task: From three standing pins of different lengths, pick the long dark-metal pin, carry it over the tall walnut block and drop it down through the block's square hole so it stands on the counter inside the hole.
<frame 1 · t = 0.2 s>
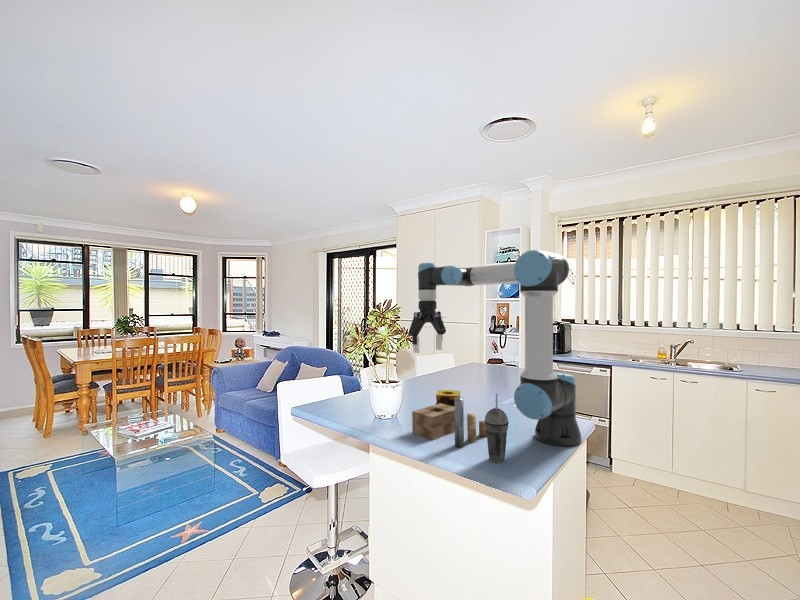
hand: (427, 351, 162), 28 cm above the table, fingers open, 13 cm apart
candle: (448, 416, 163), on the table
short pin: (483, 435, 139), on the table
medium pin: (471, 440, 134), on the table
hole block: (437, 431, 144), on the table
long pin: (459, 446, 129), on the table
beverage cup: (496, 460, 118), on the table
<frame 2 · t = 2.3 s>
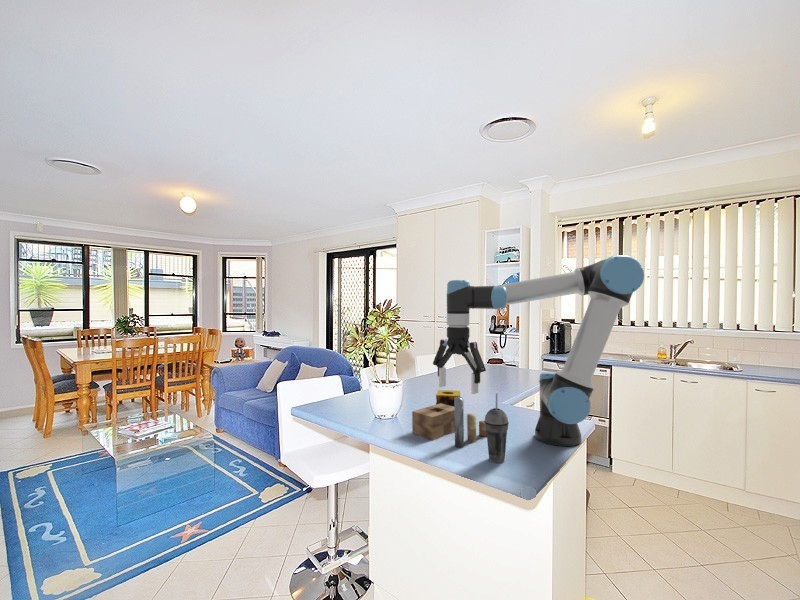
hand: (458, 389, 130), 19 cm above the table, fingers open, 13 cm apart
nothing on the table moved.
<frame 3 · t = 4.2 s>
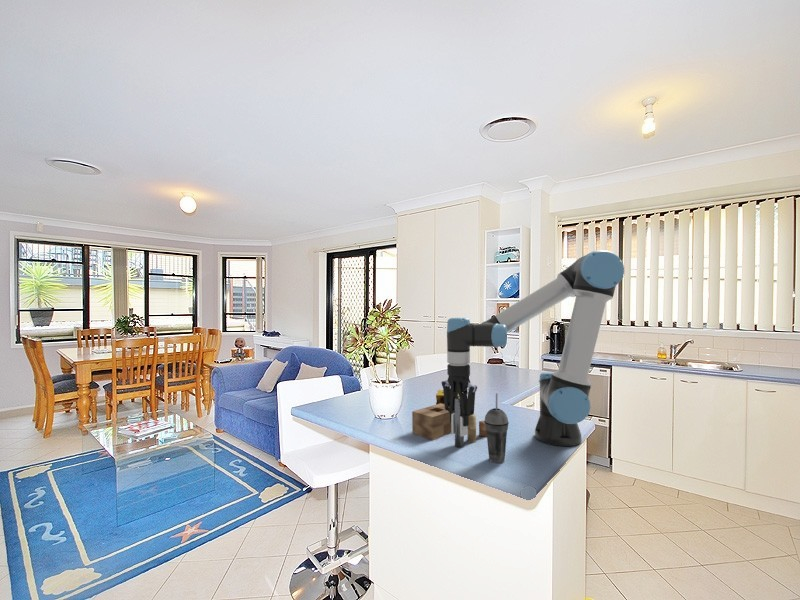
hand: (459, 433, 130), 4 cm above the table, fingers closed on long pin, 3 cm apart
long pin: (459, 446, 129), on the table, touching gripper
everything else where it was.
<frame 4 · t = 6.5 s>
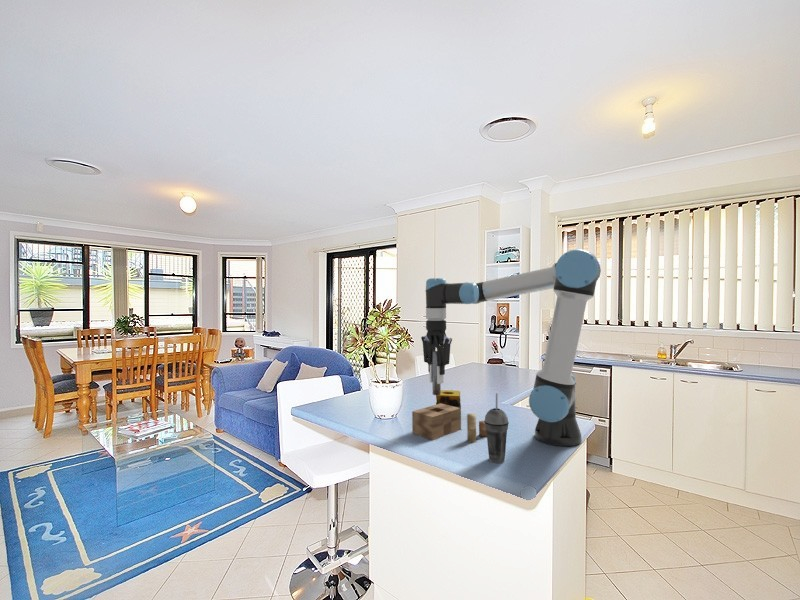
hand: (436, 382, 145), 18 cm above the table, fingers closed on long pin, 3 cm apart
long pin: (436, 394, 144), point 14 cm above the table, touching gripper
everything else where it was.
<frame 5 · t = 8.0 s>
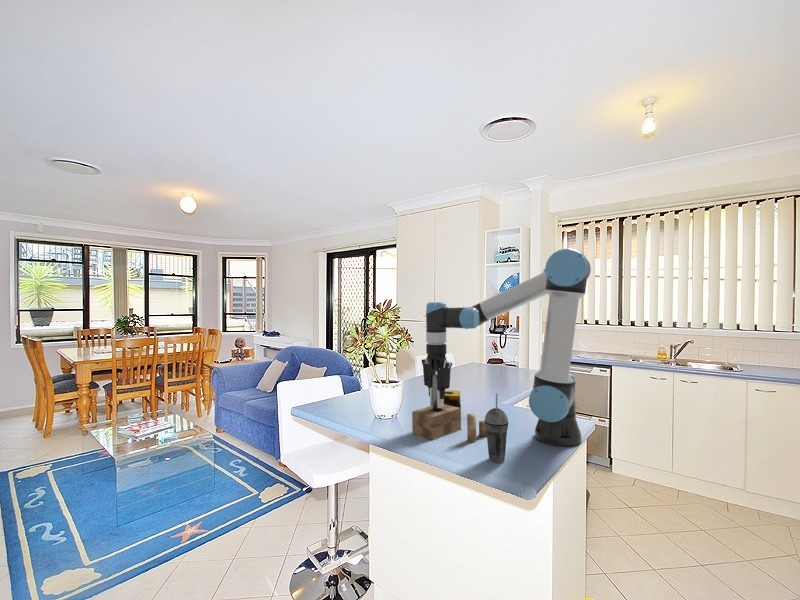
hand: (436, 406, 145), 9 cm above the table, fingers closed on long pin, 3 cm apart
long pin: (436, 417, 144), point 5 cm above the table, touching gripper
everything else where it was.
when the fingers open (9 cm above the table, at t = 8.9 s): long pin drops 4 cm, resting in hole block.
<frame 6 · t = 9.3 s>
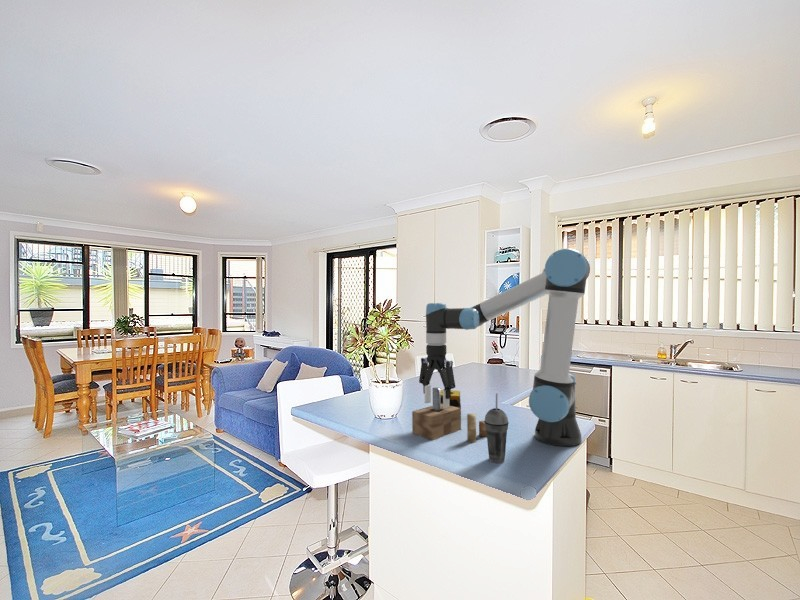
hand: (436, 404, 145), 10 cm above the table, fingers open, 8 cm apart
long pin: (436, 431, 144), resting in hole block
everything else where it was.
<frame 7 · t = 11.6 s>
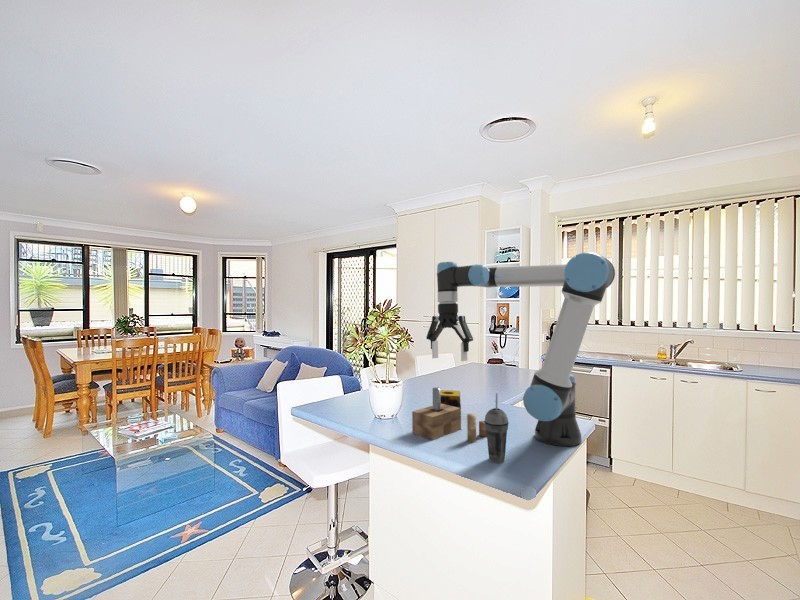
hand: (449, 359, 146), 27 cm above the table, fingers open, 13 cm apart
nothing on the table moved.
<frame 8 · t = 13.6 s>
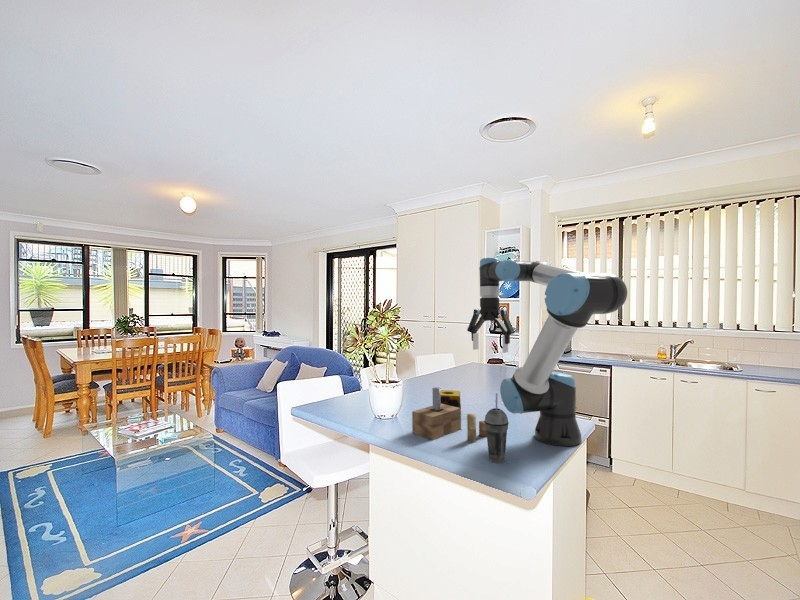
hand: (490, 350, 153), 29 cm above the table, fingers open, 13 cm apart
nothing on the table moved.
at the end: long pin 0.0 cm from the target spot, resting in hole block; long pin tilted 0°; the gripper is holding nothing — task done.
